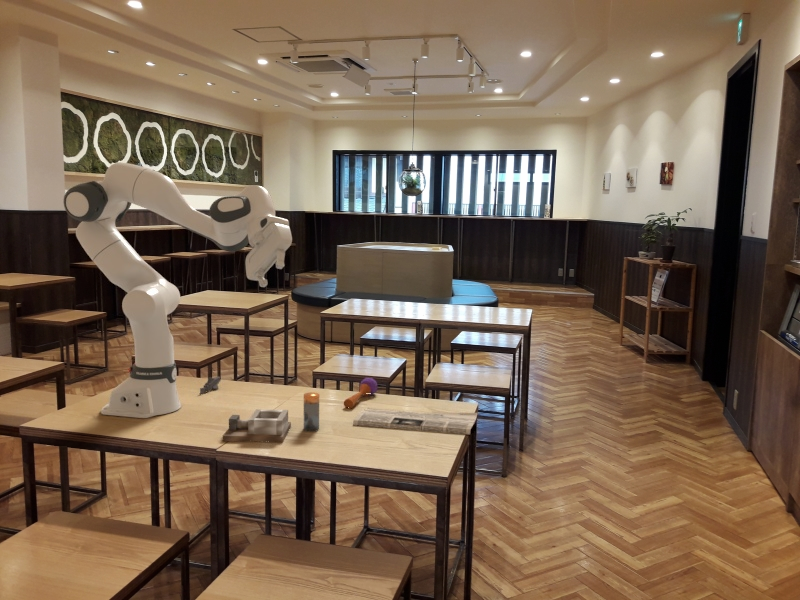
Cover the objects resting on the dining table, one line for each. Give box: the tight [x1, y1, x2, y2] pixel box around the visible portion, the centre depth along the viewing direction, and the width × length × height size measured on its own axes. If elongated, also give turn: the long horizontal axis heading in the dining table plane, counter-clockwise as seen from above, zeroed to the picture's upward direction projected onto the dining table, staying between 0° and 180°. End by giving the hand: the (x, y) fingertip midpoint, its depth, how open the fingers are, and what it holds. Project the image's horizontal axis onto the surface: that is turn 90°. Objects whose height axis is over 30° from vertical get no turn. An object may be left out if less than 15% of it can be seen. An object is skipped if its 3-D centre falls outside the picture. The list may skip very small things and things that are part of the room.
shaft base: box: [222, 408, 292, 443], centre depth 166 cm, size 16×12×6 cm
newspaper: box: [352, 407, 478, 435], centre depth 178 cm, size 35×12×4 cm, turn 80°
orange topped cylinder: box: [303, 392, 320, 432], centre depth 170 cm, size 4×4×10 cm
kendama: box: [343, 377, 378, 409], centre depth 199 cm, size 6×6×20 cm
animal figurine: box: [199, 376, 222, 395], centre depth 207 cm, size 12×4×5 cm, turn 165°
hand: (272, 276), depth 163 cm, fingers open, 8 cm apart
